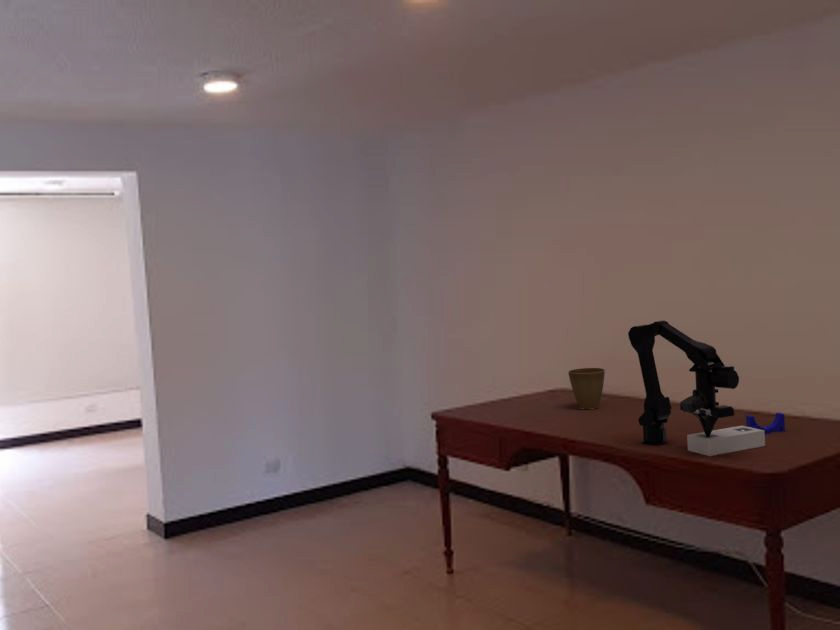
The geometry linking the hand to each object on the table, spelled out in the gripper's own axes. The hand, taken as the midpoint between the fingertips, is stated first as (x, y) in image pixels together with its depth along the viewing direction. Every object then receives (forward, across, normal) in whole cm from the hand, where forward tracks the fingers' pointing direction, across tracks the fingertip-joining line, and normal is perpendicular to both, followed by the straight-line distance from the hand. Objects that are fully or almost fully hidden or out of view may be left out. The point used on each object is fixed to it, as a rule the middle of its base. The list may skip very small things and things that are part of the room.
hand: (707, 435), depth 270 cm
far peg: (+5, 0, +14) cm, 15 cm away
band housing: (+5, 0, +7) cm, 9 cm away
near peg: (+5, 0, 0) cm, 5 cm away
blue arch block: (+5, -10, +33) cm, 35 cm away
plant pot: (+5, -89, +13) cm, 90 cm away
